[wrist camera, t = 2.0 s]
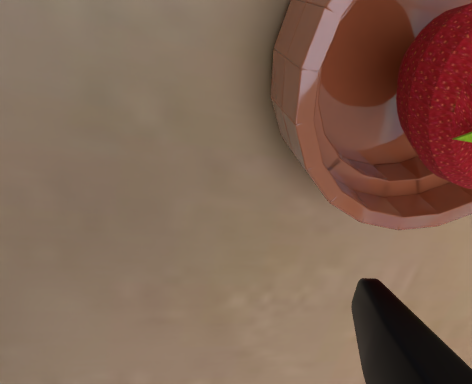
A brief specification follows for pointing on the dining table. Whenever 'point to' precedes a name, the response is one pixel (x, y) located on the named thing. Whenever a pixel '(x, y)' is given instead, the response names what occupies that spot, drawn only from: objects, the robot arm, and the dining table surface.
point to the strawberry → (440, 95)
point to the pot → (358, 109)
